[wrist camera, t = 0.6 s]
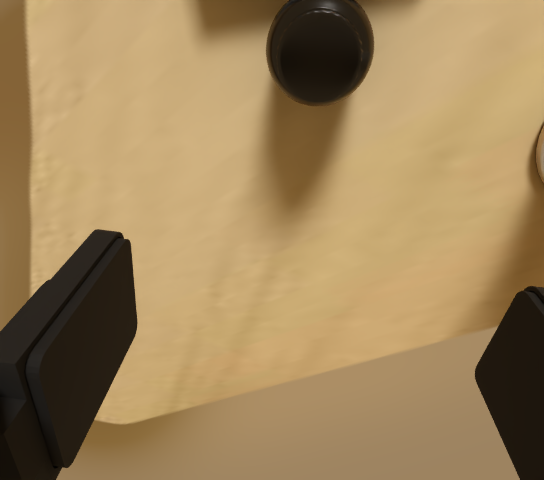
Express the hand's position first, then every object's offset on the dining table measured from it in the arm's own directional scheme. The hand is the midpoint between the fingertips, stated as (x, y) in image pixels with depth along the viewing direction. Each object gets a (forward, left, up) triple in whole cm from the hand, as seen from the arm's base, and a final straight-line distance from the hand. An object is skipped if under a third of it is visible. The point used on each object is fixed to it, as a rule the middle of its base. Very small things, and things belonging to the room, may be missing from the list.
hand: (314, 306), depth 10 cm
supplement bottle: (-1, -3, -29) cm, 29 cm away
